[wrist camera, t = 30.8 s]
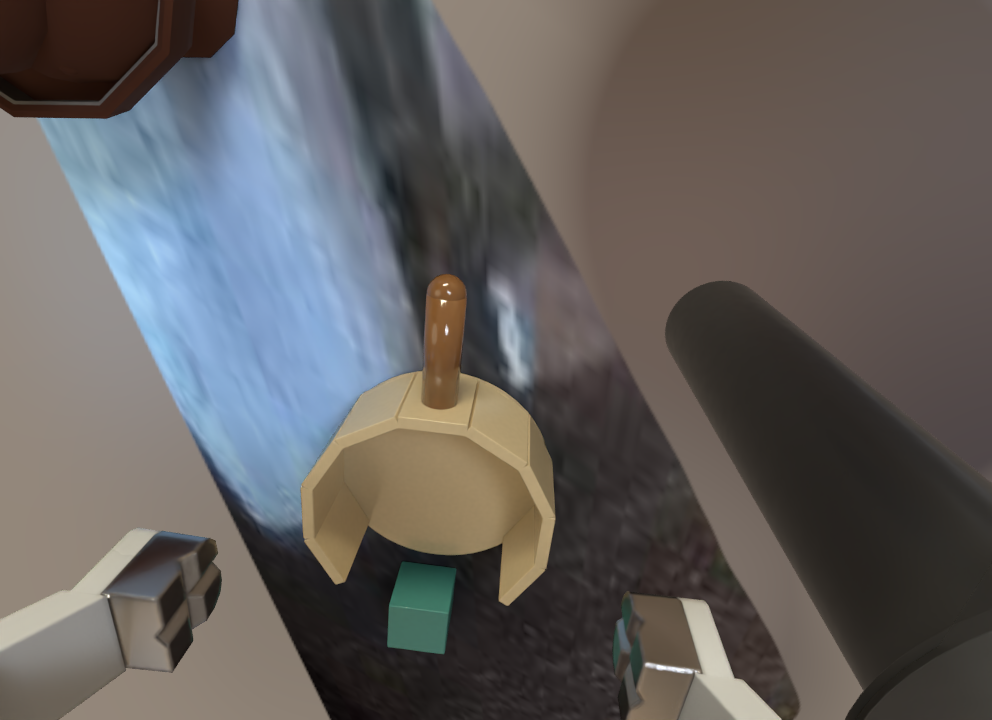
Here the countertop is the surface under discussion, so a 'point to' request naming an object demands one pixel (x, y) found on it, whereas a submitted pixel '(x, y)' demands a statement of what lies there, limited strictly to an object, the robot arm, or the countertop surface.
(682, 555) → the countertop surface
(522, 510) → the tan scoop with handle
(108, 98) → the ice cream bowl
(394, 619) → the block
